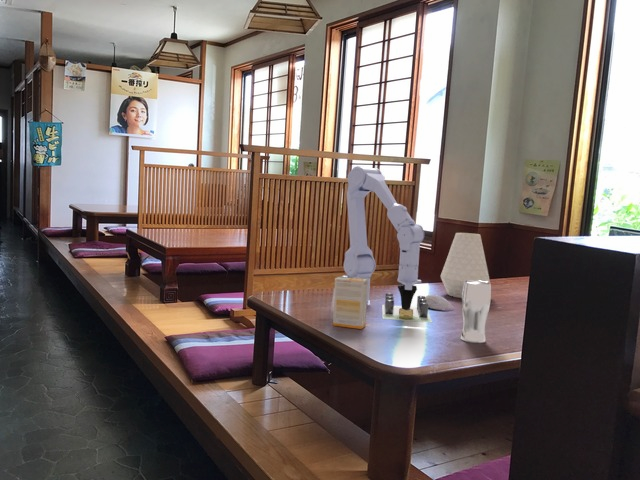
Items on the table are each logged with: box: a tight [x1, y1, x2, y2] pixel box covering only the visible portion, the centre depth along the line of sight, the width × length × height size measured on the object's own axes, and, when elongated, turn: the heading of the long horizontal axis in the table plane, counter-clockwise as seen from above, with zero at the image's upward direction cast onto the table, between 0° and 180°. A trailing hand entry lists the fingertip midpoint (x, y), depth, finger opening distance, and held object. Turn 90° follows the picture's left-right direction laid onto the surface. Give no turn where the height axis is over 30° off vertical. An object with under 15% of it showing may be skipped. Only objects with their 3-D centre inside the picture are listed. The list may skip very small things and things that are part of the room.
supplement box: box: [332, 275, 368, 330], centre depth 149 cm, size 8×5×13 cm, turn 71°
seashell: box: [425, 294, 455, 312], centre depth 177 cm, size 10×6×10 cm
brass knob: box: [399, 308, 413, 321], centre depth 159 cm, size 4×4×3 cm
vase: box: [440, 232, 490, 299], centre depth 203 cm, size 18×17×23 cm
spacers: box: [384, 292, 429, 318], centre depth 169 cm, size 12×14×4 cm
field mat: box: [381, 304, 433, 323], centre depth 166 cm, size 14×20×1 cm
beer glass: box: [460, 280, 492, 344], centre depth 140 cm, size 7×7×15 cm
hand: (405, 309), depth 166 cm, fingers closed
